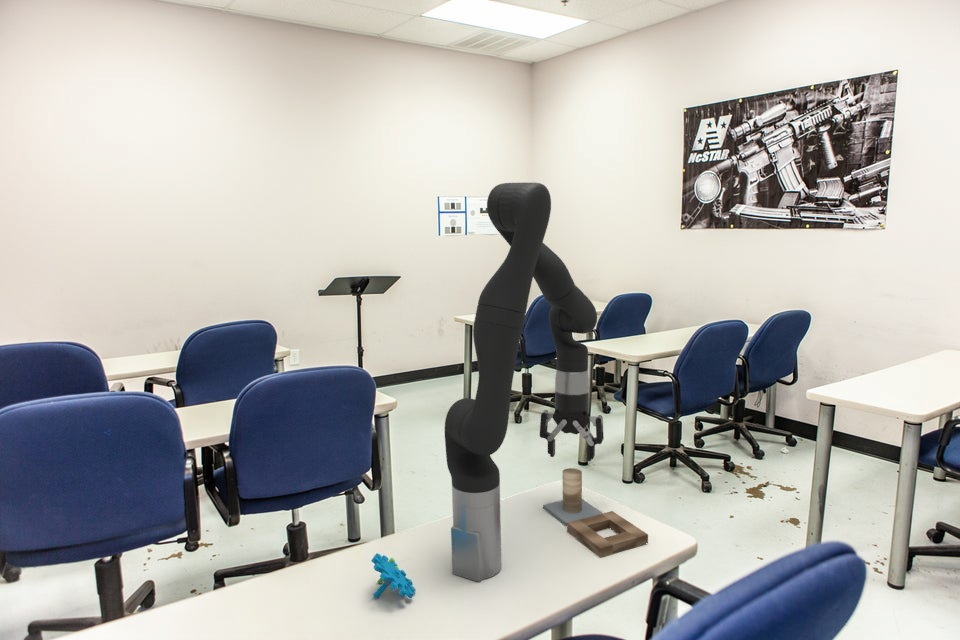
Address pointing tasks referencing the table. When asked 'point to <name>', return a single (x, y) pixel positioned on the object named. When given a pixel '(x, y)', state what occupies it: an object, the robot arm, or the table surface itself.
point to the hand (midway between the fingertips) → (571, 458)
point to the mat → (566, 517)
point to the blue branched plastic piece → (392, 577)
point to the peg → (572, 490)
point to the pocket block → (601, 546)
